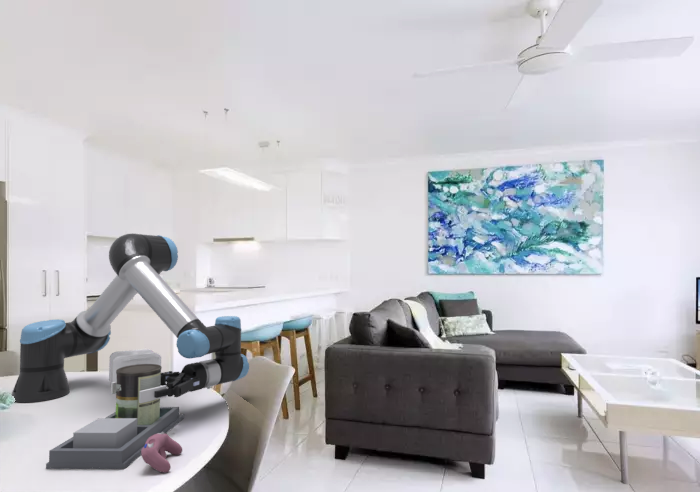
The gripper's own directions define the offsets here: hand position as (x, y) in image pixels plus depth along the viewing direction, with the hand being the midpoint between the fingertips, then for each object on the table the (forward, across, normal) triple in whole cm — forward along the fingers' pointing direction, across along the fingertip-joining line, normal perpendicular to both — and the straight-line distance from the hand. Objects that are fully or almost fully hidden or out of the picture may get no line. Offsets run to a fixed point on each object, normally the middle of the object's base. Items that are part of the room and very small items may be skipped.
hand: (125, 392), depth 108 cm
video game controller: (+4, -22, -10) cm, 25 cm away
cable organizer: (-25, +42, -10) cm, 50 cm away
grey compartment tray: (+2, -3, -10) cm, 11 cm away
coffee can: (-3, 0, -9) cm, 10 cm away
